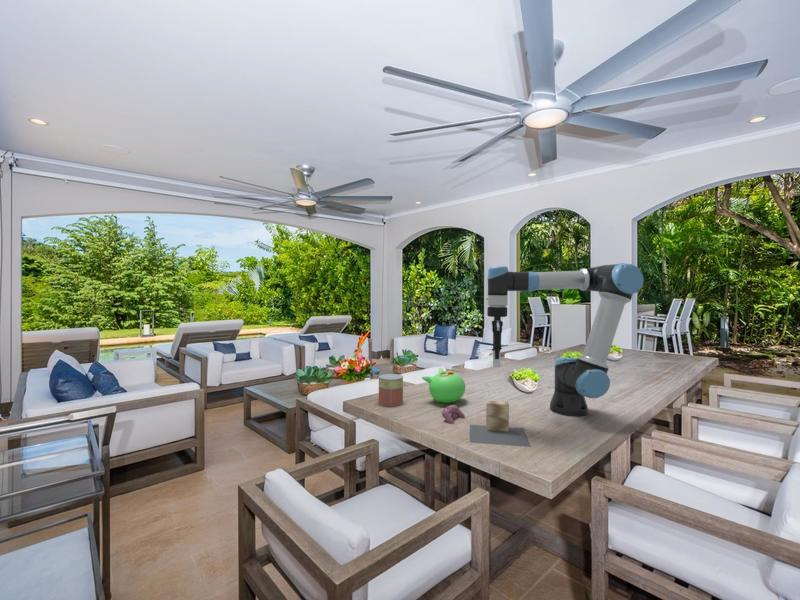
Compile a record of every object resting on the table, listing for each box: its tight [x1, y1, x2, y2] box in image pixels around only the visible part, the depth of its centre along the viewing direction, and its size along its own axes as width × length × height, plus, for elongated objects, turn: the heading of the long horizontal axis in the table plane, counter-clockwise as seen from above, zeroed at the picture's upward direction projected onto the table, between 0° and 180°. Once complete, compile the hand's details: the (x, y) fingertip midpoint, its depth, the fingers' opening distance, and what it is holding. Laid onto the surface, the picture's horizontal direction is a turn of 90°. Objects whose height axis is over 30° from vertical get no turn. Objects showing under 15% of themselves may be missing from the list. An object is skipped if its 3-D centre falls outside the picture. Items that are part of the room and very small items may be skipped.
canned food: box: [378, 373, 404, 407], centre depth 179 cm, size 11×11×12 cm
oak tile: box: [485, 400, 510, 432], centre depth 144 cm, size 8×3×10 cm, turn 80°
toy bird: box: [421, 367, 466, 404], centre depth 180 cm, size 18×17×15 cm
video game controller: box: [441, 404, 466, 425], centre depth 155 cm, size 10×5×7 cm, turn 141°
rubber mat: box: [469, 424, 532, 448], centre depth 139 cm, size 20×17×1 cm
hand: (496, 366), depth 151 cm, fingers closed
